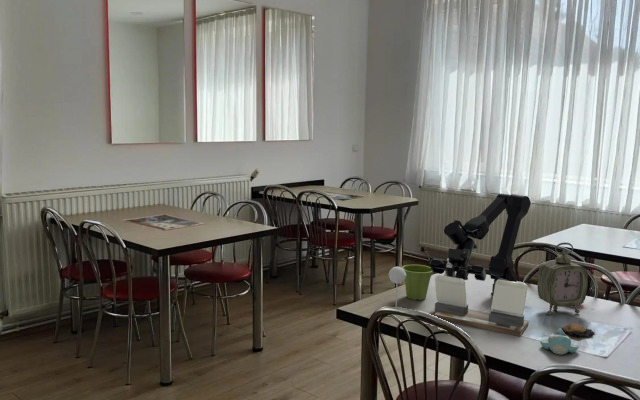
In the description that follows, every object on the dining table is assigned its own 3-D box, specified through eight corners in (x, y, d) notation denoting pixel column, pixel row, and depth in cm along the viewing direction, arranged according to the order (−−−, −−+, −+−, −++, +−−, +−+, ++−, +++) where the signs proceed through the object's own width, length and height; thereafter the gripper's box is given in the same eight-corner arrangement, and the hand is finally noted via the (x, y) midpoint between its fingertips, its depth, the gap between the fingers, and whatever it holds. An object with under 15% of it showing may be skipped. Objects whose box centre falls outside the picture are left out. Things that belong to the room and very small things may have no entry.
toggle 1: (438, 297, 201) (436, 273, 196) (466, 303, 195) (465, 278, 191) (436, 301, 199) (434, 276, 195) (465, 306, 194) (463, 281, 190)
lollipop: (406, 306, 207) (408, 266, 205) (402, 311, 202) (403, 269, 199) (390, 304, 209) (391, 263, 207) (385, 309, 204) (386, 267, 202)
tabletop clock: (547, 317, 198) (553, 245, 195) (532, 308, 207) (537, 240, 203) (585, 315, 201) (591, 244, 198) (568, 306, 210) (574, 239, 206)
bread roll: (578, 343, 177) (579, 331, 177) (554, 334, 185) (555, 323, 184) (598, 336, 183) (599, 325, 182) (574, 328, 190) (575, 317, 190)
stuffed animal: (579, 327, 174) (581, 333, 163) (577, 351, 174) (579, 359, 163) (541, 322, 178) (540, 328, 167) (539, 345, 178) (538, 353, 167)
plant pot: (429, 304, 210) (430, 274, 209) (397, 300, 214) (398, 270, 213) (434, 294, 221) (436, 266, 220) (404, 291, 225) (405, 263, 224)
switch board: (440, 308, 206) (441, 296, 206) (528, 324, 191) (529, 312, 190) (428, 317, 196) (429, 305, 195) (520, 336, 181) (520, 323, 180)
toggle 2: (492, 309, 192) (497, 279, 194) (523, 315, 186) (528, 284, 189) (490, 308, 190) (495, 278, 192) (522, 314, 185) (527, 283, 187)
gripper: (432, 235, 203) (419, 273, 195) (485, 242, 193) (474, 282, 185) (439, 253, 211) (426, 290, 203) (491, 260, 201) (479, 299, 193)
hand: (450, 290), depth 196 cm, fingers closed, pressing on toggle 1
